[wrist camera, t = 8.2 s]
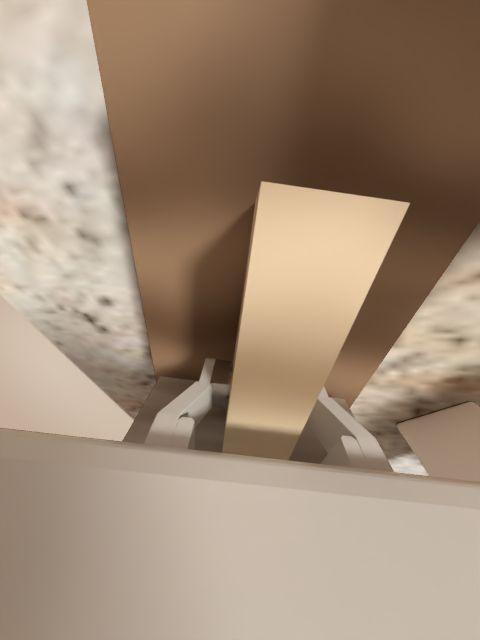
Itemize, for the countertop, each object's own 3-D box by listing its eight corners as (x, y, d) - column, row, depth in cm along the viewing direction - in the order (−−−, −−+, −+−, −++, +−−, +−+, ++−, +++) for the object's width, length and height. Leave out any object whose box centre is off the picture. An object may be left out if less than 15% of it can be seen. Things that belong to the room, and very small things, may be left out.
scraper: (139, 185, 7) (28, 147, 4) (442, 229, 7) (625, 234, 4) (161, 392, 12) (127, 460, 9) (336, 413, 13) (369, 487, 9)
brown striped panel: (149, 39, 8) (69, -96, 4) (472, 85, 8) (640, -10, 5) (179, 385, 19) (164, 423, 16) (312, 401, 19) (325, 442, 16)
